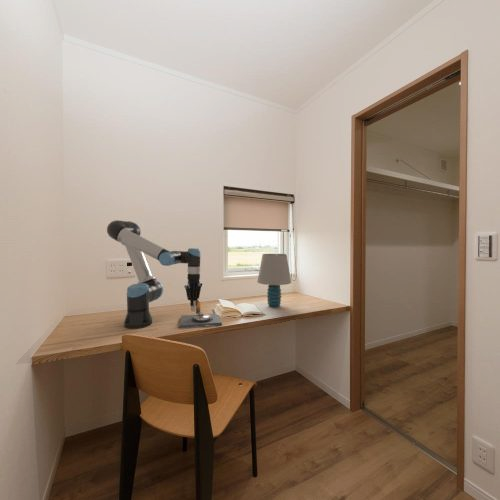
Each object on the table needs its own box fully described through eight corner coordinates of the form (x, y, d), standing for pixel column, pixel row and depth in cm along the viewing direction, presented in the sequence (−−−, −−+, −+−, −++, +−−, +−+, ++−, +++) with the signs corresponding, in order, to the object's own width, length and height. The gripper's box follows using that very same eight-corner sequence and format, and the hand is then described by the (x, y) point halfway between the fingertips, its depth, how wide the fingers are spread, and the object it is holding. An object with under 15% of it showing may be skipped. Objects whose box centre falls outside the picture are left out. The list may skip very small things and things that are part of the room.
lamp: (282, 312, 172) (283, 255, 170) (251, 307, 185) (251, 254, 183) (296, 304, 193) (296, 254, 192) (267, 300, 207) (267, 253, 205)
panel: (179, 328, 141) (179, 325, 141) (181, 317, 160) (181, 315, 160) (221, 325, 146) (221, 322, 146) (218, 315, 165) (218, 312, 165)
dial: (213, 319, 150) (213, 304, 150) (197, 322, 145) (196, 306, 145) (204, 313, 163) (204, 299, 163) (189, 315, 158) (189, 301, 158)
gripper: (189, 274, 148) (189, 314, 148) (205, 272, 158) (204, 309, 159) (181, 273, 152) (181, 312, 153) (197, 271, 162) (196, 307, 163)
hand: (193, 310), depth 156 cm, fingers closed
